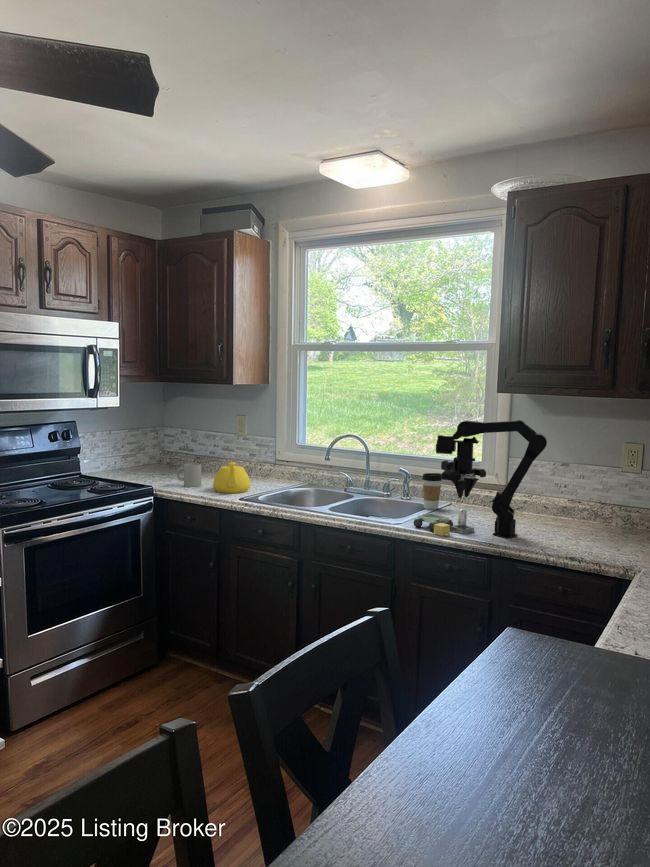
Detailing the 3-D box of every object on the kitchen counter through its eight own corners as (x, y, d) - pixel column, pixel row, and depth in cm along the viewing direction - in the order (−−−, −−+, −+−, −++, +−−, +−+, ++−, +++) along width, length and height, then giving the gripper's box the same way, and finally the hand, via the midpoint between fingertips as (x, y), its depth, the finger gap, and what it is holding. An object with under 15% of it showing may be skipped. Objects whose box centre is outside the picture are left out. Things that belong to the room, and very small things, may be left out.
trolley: (453, 528, 235) (453, 517, 235) (435, 532, 229) (435, 520, 229) (431, 523, 244) (431, 512, 243) (413, 526, 238) (413, 515, 237)
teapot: (251, 495, 292) (251, 466, 291) (212, 496, 290) (212, 466, 288) (249, 486, 317) (249, 459, 316) (213, 486, 314) (213, 459, 313)
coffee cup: (440, 510, 268) (442, 475, 267) (420, 509, 270) (421, 474, 268) (441, 506, 276) (442, 472, 275) (421, 505, 278) (422, 471, 277)
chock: (449, 534, 227) (450, 525, 227) (442, 536, 225) (442, 526, 224) (441, 532, 230) (441, 522, 230) (433, 533, 228) (434, 524, 227)
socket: (474, 531, 232) (474, 527, 231) (463, 534, 228) (463, 529, 228) (460, 528, 236) (460, 524, 236) (449, 530, 233) (449, 526, 232)
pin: (467, 531, 232) (468, 510, 231) (462, 532, 230) (463, 510, 229) (461, 529, 234) (462, 508, 233) (456, 530, 232) (456, 509, 232)
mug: (202, 484, 319) (202, 463, 318) (199, 487, 310) (199, 465, 309) (178, 484, 318) (178, 462, 317) (175, 487, 310) (175, 465, 309)
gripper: (463, 451, 242) (462, 491, 243) (430, 454, 230) (429, 496, 231) (487, 454, 233) (486, 496, 234) (454, 457, 221) (453, 501, 223)
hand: (463, 497), depth 231 cm, fingers open, 3 cm apart
